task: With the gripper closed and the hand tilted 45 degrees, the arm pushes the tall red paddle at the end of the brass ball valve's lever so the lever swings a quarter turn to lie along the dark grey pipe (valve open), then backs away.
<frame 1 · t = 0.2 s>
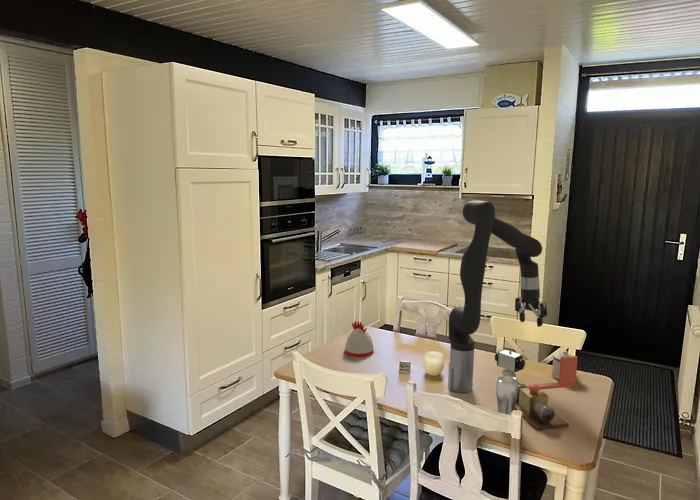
hand: (531, 323, 204), 23 cm above the table, tool pointing down, fingers open, 8 cm apart
grey beanie hat: (359, 352, 232), on the table
lever: (553, 373, 173), point 15 cm above the table, hinge at 0.0°
teacup with lid: (564, 376, 206), on the table
grey vase: (505, 420, 169), on the table
valve body: (532, 412, 174), on the table
pneumatic valve: (509, 378, 204), on the table
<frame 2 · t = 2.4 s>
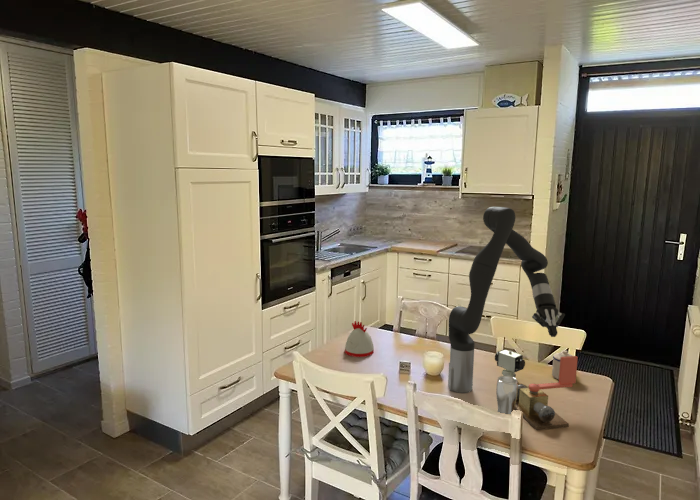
hand: (554, 336, 186), 23 cm above the table, tool tilted 45°, fingers closed
nothing on the table moved.
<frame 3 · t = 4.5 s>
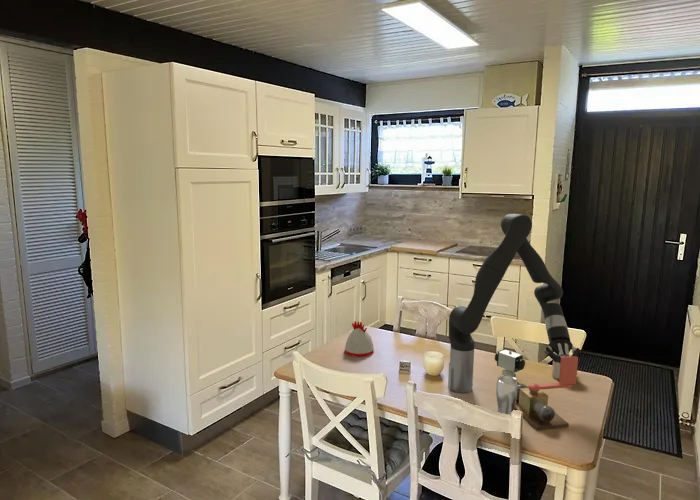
hand: (567, 372, 175), 14 cm above the table, tool tilted 45°, fingers closed
lever: (553, 373, 173), point 15 cm above the table, hinge at 1.1°, touching gripper
everything else where it was.
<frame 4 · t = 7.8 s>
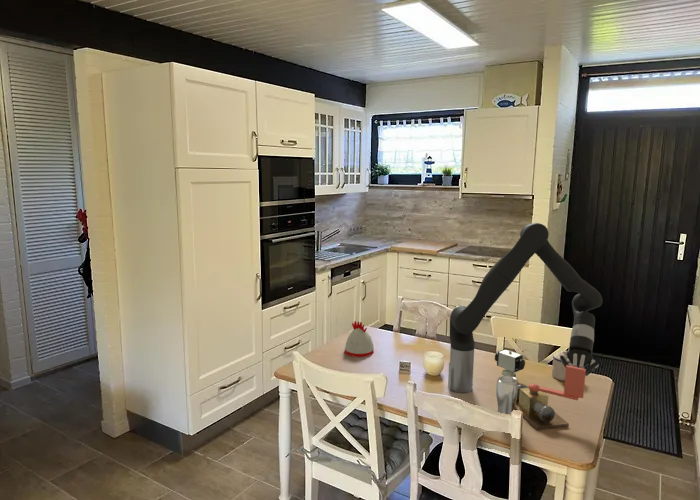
hand: (575, 384, 165), 14 cm above the table, tool tilted 45°, fingers closed
lever: (556, 379, 168), point 15 cm above the table, hinge at 44.8°, touching gripper
everything else where it was.
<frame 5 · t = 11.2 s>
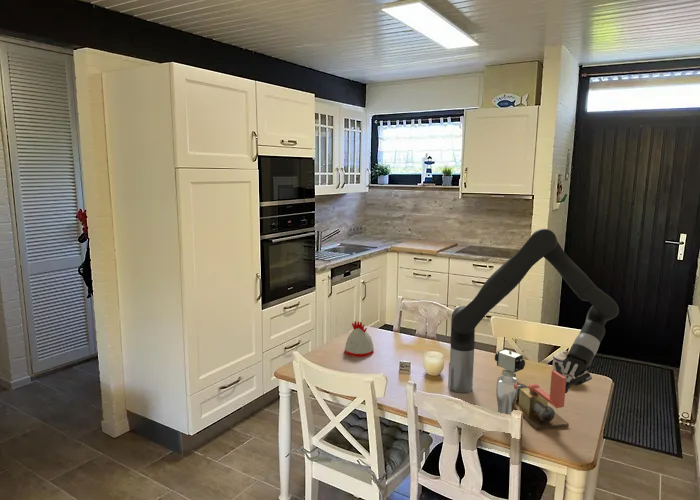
hand: (561, 392, 160), 14 cm above the table, tool tilted 45°, fingers closed
lever: (546, 383, 165), point 15 cm above the table, hinge at 88.6°, touching gripper
everything else where it was.
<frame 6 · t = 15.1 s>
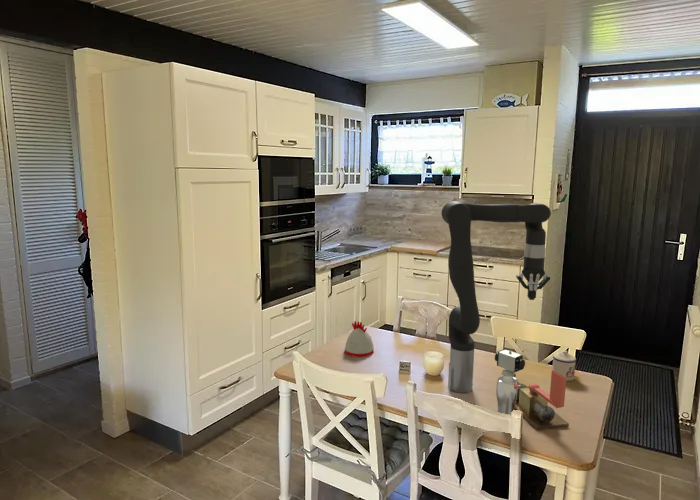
hand: (531, 299, 187), 37 cm above the table, tool pointing down, fingers closed
lever: (546, 383, 165), point 15 cm above the table, hinge at 88.6°
everything else where it was.
at the end: lever at +89° (first picture: +0°) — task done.
